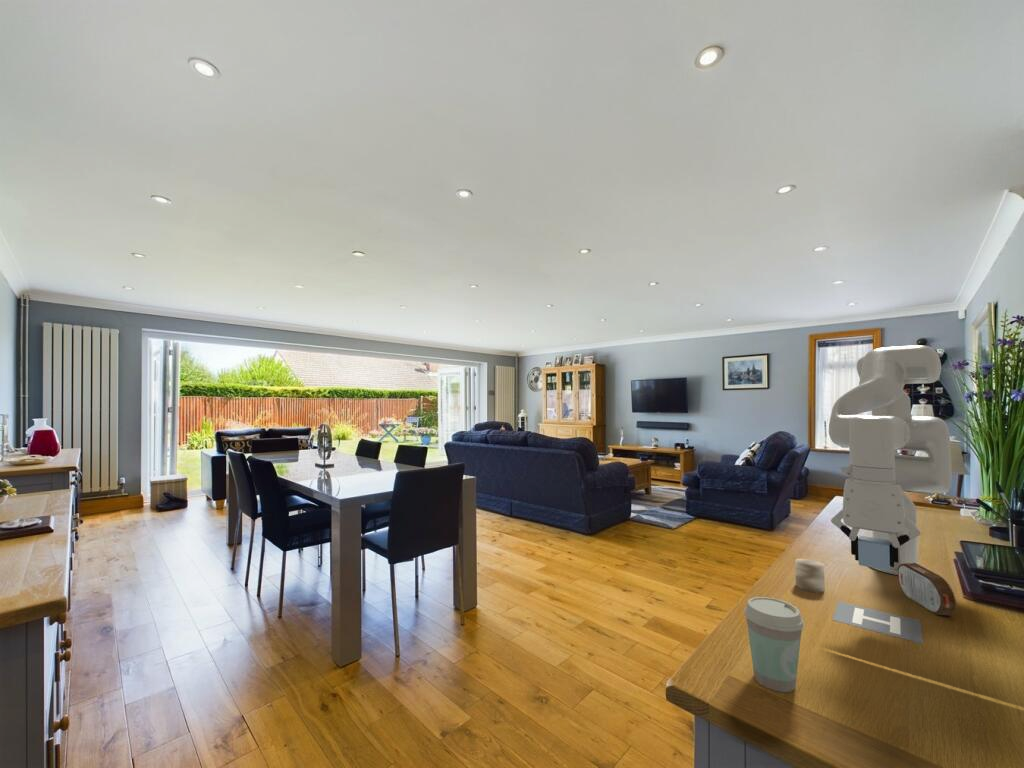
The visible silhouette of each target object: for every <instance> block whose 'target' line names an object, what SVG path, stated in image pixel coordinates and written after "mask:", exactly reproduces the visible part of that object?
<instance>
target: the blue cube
mask: <svg viewBox="0 0 1024 768" xmlns="http://www.w3.org/2000/svg"><path fill="white" fill-rule="evenodd" d="M889 546H890V540H884V539H878V538H873V537H870V536H864V535H859V536H858V558H859V560H858V565H859V566H862V567H866V568H867V567H868V568H872V569H874V568H877V569H882V570H887V571H890V551H889Z"/></svg>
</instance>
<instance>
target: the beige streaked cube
mask: <svg viewBox="0 0 1024 768" xmlns="http://www.w3.org/2000/svg"><path fill="white" fill-rule="evenodd" d="M794 563H795V564H794V568H795V569H794V570H795V571H794V572H795V574H794V577H795V586H796V587H797V588H798V589H800V590H802V591H806V592H810V593H817V594H818V593H824V592H825V590H826V586H825V585H826V584H825V583H826V582H825V564H824V563H822V562H821V561H818V560H814V559H811V558H796V559H795V561H794Z"/></svg>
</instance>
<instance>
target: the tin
mask: <svg viewBox="0 0 1024 768" xmlns="http://www.w3.org/2000/svg"><path fill="white" fill-rule="evenodd" d="M897 570H898V575H897V579H898V586H899V587H900V590H901V591H902V593H903V595H905V597H907V598H908V599H910V600H912V601H913V602H915V603H916V604H918V605H919V606H921V607H923V608H924V609H926V610H927V611H929V612H930V613H933V614H934V615H936V616H948V617H952V616H953V615H954V614H955V613H956V610H957V602H956V597H955V593H954V592H953V590H952V587H951V585H950V584H949V583H948V581H946V579H945V578H944V577H942V576H941V575H939V574H937V573H935V572H934V571H932V570H930V569H928V568H925V567H924V566H922V565H920V564H919V563H918V564H917V563H904V564H900V565H899V566H898V569H897Z"/></svg>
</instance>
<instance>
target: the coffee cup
mask: <svg viewBox="0 0 1024 768" xmlns="http://www.w3.org/2000/svg"><path fill="white" fill-rule="evenodd" d="M746 602H747V603H746V606H744V612H743V614H744V616H745V618H746V622H747V623H746V624H747V632H748V639H749V647H750V654H751V661H752V670H753V676H754V679H755V678H756V679H755V680H756V681H757V683H759V684H760V685H761V686H763V687H765V688H766V689H769V690H772V691H775V692H778V693H789V692H793V691H794V690H796V683H797V675H798V668H799V667H798V666H799V660H800V659H799V656H800V648H801V640H802V639H801V638H802V630H803V629H804V628H805V623H804V619H803V617H802V615H801V611H800V610H799V609H798V608H797V606H794V605H793V604H791V603H789V602H787V601H785V600H782V599H777V598H773V597H767V596H766V597H765V596H756V597H751V598H749V599H748V600H747V601H746Z"/></svg>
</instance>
